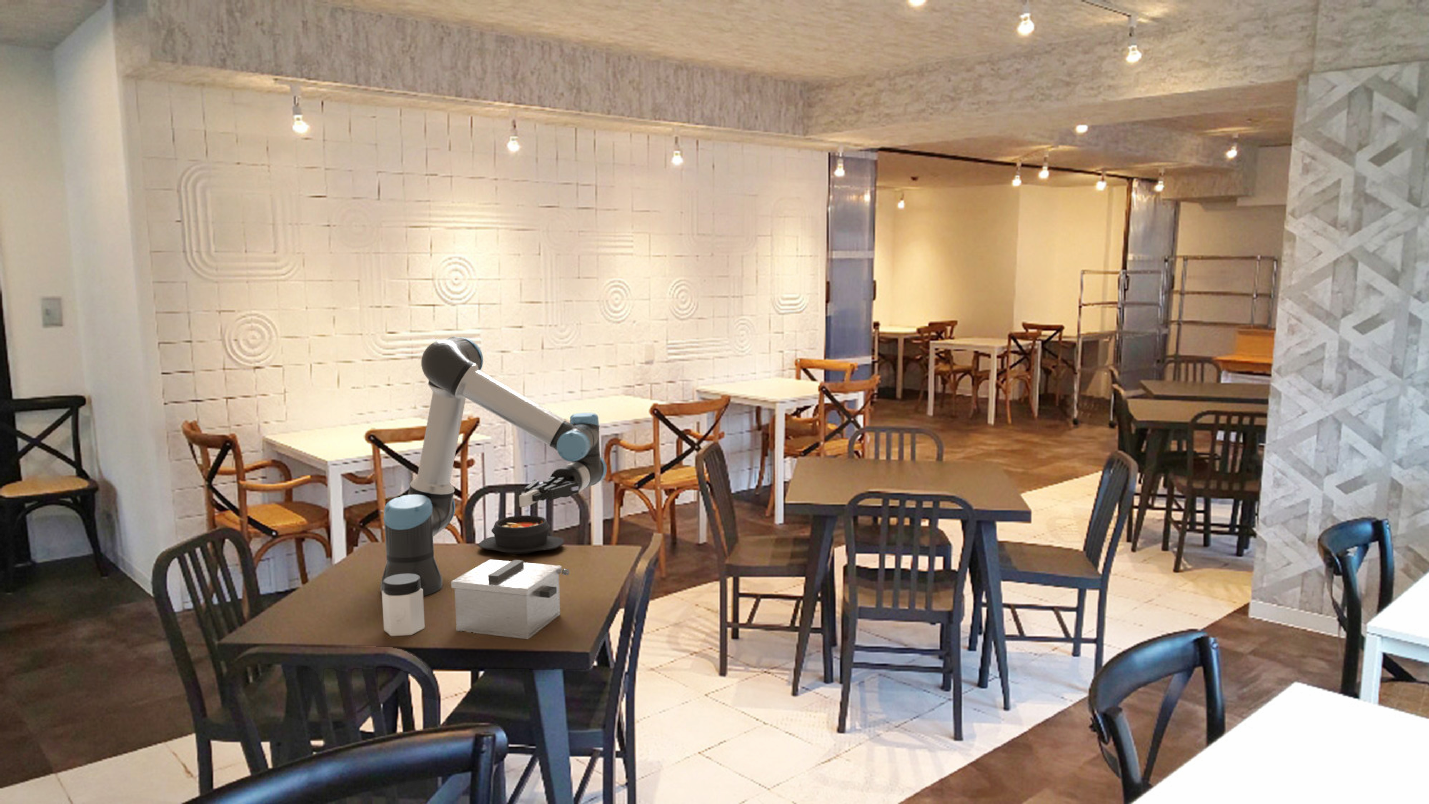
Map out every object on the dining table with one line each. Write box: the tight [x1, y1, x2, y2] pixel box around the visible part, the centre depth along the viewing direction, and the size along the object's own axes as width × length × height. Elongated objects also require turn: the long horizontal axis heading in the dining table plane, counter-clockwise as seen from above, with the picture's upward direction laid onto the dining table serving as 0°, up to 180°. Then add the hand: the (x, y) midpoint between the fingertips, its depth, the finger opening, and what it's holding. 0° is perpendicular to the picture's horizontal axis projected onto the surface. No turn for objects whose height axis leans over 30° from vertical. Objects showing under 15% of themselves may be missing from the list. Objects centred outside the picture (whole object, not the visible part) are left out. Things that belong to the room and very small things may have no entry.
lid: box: [450, 559, 563, 595], centre depth 222 cm, size 17×19×3 cm
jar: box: [381, 574, 425, 637], centre depth 219 cm, size 9×8×12 cm
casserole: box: [478, 514, 565, 555], centre depth 282 cm, size 25×19×8 cm
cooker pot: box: [454, 568, 570, 640], centre depth 223 cm, size 18×23×11 cm
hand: (522, 501), depth 224 cm, fingers closed
